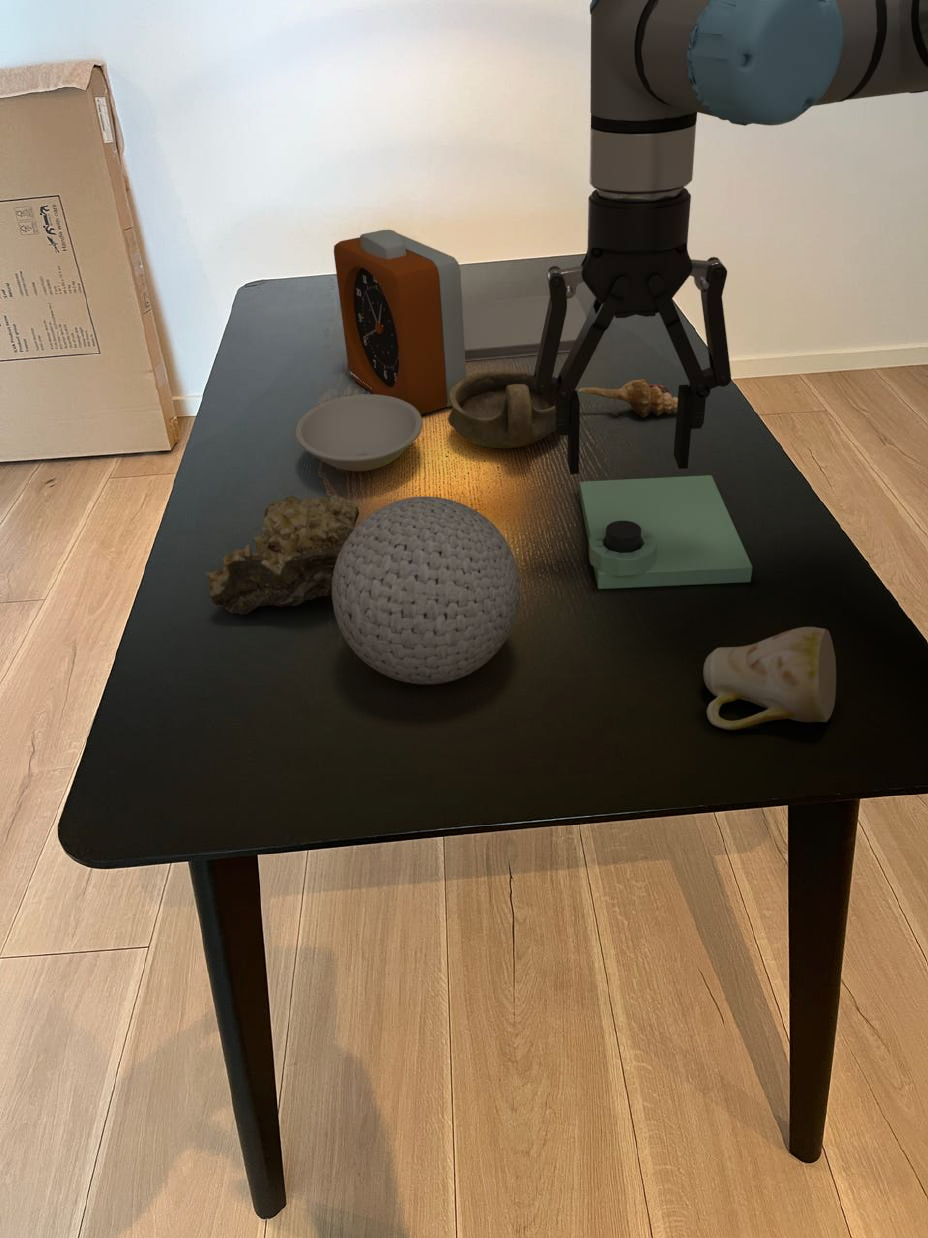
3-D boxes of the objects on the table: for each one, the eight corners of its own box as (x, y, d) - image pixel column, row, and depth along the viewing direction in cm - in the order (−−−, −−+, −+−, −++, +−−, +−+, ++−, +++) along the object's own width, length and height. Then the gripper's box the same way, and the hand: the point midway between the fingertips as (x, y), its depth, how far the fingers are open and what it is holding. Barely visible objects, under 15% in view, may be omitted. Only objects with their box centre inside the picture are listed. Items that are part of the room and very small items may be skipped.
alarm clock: (347, 377, 135) (327, 222, 123) (403, 363, 139) (389, 210, 127) (410, 422, 122) (394, 253, 110) (470, 405, 125) (461, 239, 113)
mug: (700, 663, 81) (776, 575, 75) (796, 740, 79) (881, 655, 73) (673, 697, 75) (754, 604, 69) (776, 782, 73) (867, 693, 67)
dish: (435, 491, 107) (432, 450, 104) (304, 508, 106) (297, 466, 103) (415, 425, 121) (412, 387, 118) (299, 439, 120) (293, 401, 117)
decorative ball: (548, 632, 85) (547, 479, 76) (477, 743, 74) (467, 579, 65) (396, 598, 90) (379, 451, 82) (310, 697, 80) (280, 540, 71)
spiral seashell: (680, 401, 123) (683, 366, 121) (696, 416, 119) (698, 380, 116) (576, 414, 122) (576, 380, 119) (588, 430, 117) (588, 394, 115)
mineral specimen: (259, 543, 100) (241, 455, 94) (382, 547, 98) (371, 457, 92) (210, 627, 88) (186, 533, 83) (348, 633, 87) (334, 537, 81)
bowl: (553, 410, 123) (553, 332, 117) (581, 473, 109) (582, 388, 103) (444, 420, 122) (439, 342, 116) (458, 485, 108) (453, 400, 102)
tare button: (642, 553, 89) (643, 537, 88) (607, 555, 89) (608, 538, 88) (637, 535, 91) (638, 519, 90) (603, 537, 91) (603, 521, 90)
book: (432, 327, 150) (430, 301, 148) (579, 314, 151) (580, 288, 149) (440, 363, 138) (438, 336, 135) (600, 349, 139) (601, 321, 136)
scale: (752, 585, 89) (756, 553, 87) (592, 593, 90) (593, 560, 87) (710, 489, 104) (713, 459, 102) (573, 495, 105) (574, 466, 103)
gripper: (772, 168, 75) (740, 439, 88) (493, 185, 75) (502, 451, 89) (800, 191, 69) (760, 478, 82) (496, 208, 69) (505, 490, 83)
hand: (626, 464), depth 85 cm, fingers open, 9 cm apart
